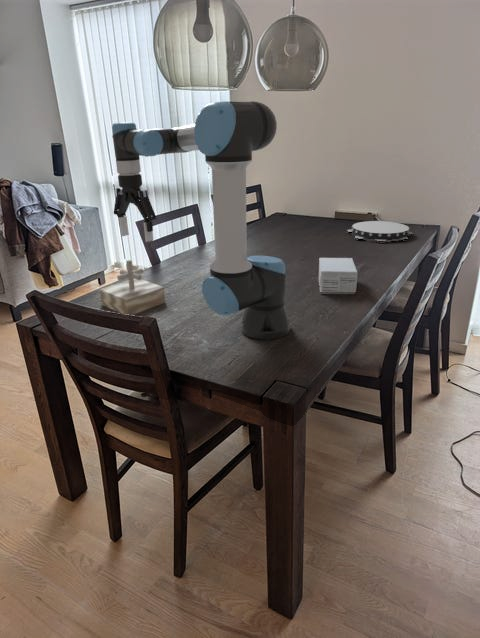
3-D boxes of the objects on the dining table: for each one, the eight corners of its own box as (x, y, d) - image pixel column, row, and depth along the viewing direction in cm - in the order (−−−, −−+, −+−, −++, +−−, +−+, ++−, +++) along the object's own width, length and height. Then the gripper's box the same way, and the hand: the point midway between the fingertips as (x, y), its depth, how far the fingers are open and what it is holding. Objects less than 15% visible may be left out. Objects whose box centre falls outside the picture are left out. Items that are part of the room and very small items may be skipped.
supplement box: (317, 279, 189) (318, 257, 185) (351, 280, 188) (352, 257, 184) (319, 294, 174) (320, 270, 170) (355, 295, 172) (358, 271, 169)
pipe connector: (152, 287, 167) (149, 260, 163) (129, 295, 160) (126, 267, 156) (134, 281, 173) (131, 255, 169) (111, 289, 166) (108, 261, 162)
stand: (165, 302, 169) (163, 287, 167) (128, 316, 159) (125, 299, 156) (138, 292, 179) (136, 277, 177) (101, 304, 169) (99, 289, 166)
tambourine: (370, 226, 273) (371, 217, 271) (424, 235, 251) (425, 226, 249) (334, 236, 252) (335, 227, 250) (389, 248, 230) (391, 238, 228)
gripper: (163, 174, 148) (169, 241, 156) (116, 170, 163) (124, 231, 171) (144, 177, 143) (151, 245, 151) (97, 173, 158) (106, 235, 166)
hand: (136, 238), depth 161 cm, fingers open, 13 cm apart
